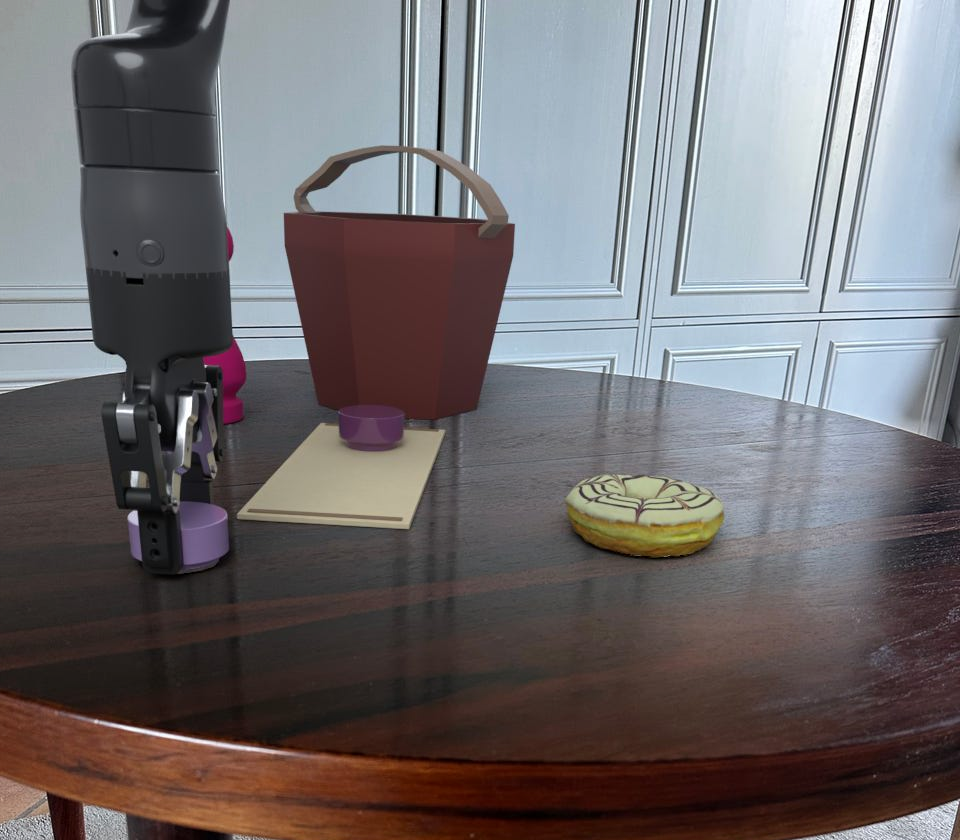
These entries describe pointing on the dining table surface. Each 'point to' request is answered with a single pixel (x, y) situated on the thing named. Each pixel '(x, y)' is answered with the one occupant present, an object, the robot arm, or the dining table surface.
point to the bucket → (398, 295)
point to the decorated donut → (644, 514)
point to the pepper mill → (230, 370)
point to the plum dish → (371, 427)
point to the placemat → (348, 482)
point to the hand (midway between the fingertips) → (181, 553)
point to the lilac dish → (192, 534)
